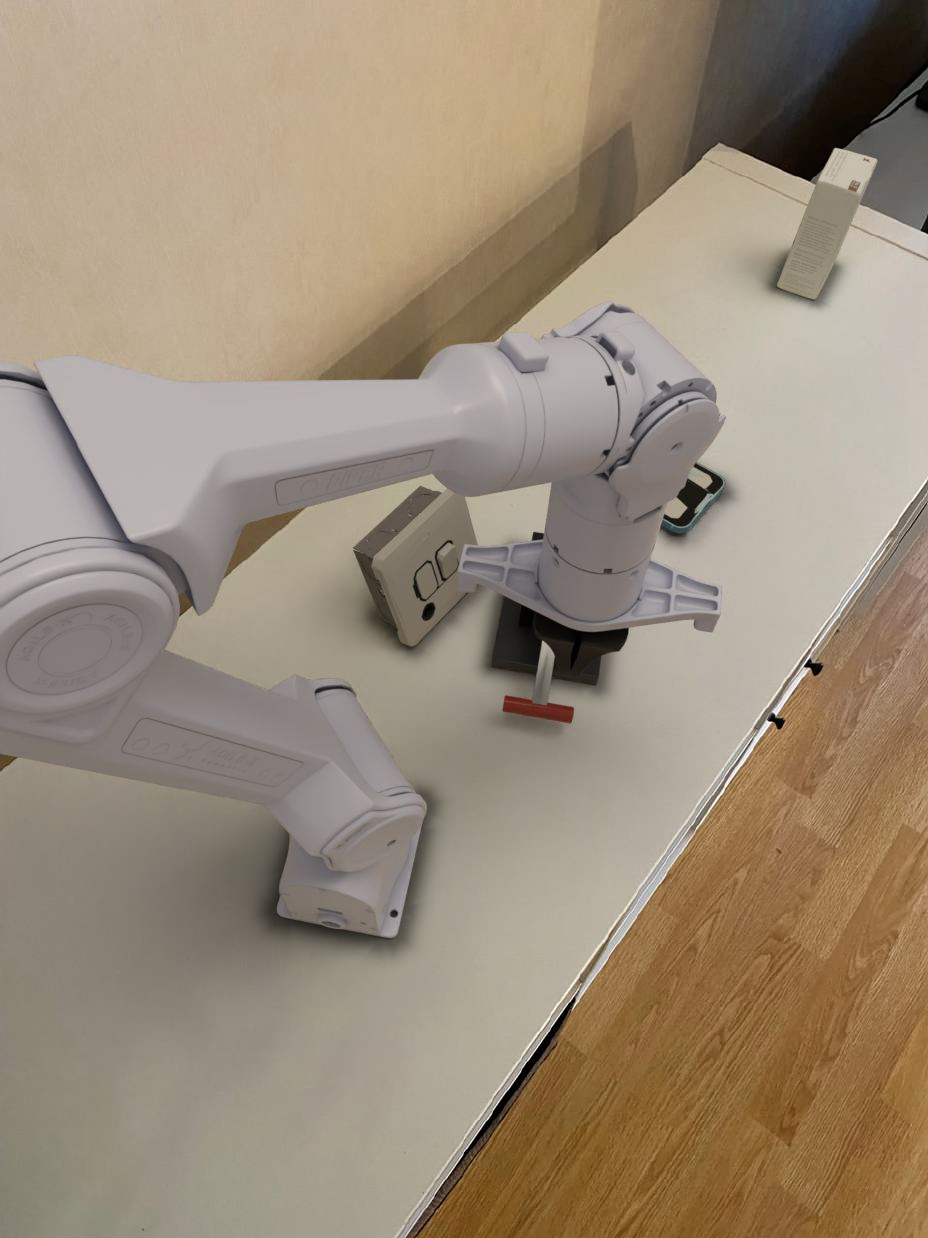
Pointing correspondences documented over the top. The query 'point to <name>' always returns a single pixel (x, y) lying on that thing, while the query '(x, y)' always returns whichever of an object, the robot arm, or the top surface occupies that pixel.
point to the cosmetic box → (826, 222)
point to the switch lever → (540, 694)
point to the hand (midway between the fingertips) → (571, 661)
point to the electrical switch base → (528, 642)
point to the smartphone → (693, 499)
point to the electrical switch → (417, 560)
